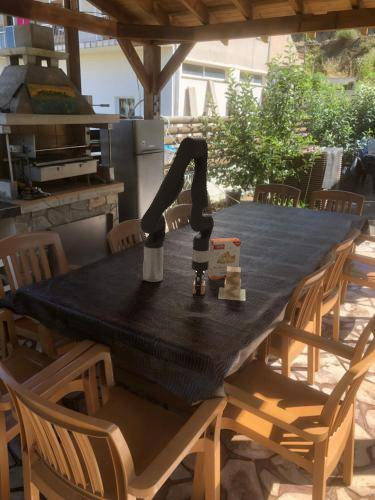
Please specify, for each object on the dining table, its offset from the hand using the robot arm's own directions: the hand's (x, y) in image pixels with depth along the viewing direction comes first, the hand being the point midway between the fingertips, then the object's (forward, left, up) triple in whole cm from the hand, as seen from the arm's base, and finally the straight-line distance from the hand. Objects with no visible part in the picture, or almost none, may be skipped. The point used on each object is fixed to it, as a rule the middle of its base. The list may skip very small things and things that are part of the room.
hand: (198, 292), depth 188 cm
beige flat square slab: (+15, +1, -1) cm, 15 cm away
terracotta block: (0, 0, -1) cm, 1 cm away
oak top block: (+15, +1, +7) cm, 16 cm away
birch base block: (+15, +1, +1) cm, 15 cm away
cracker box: (+10, +20, -1) cm, 22 cm away
